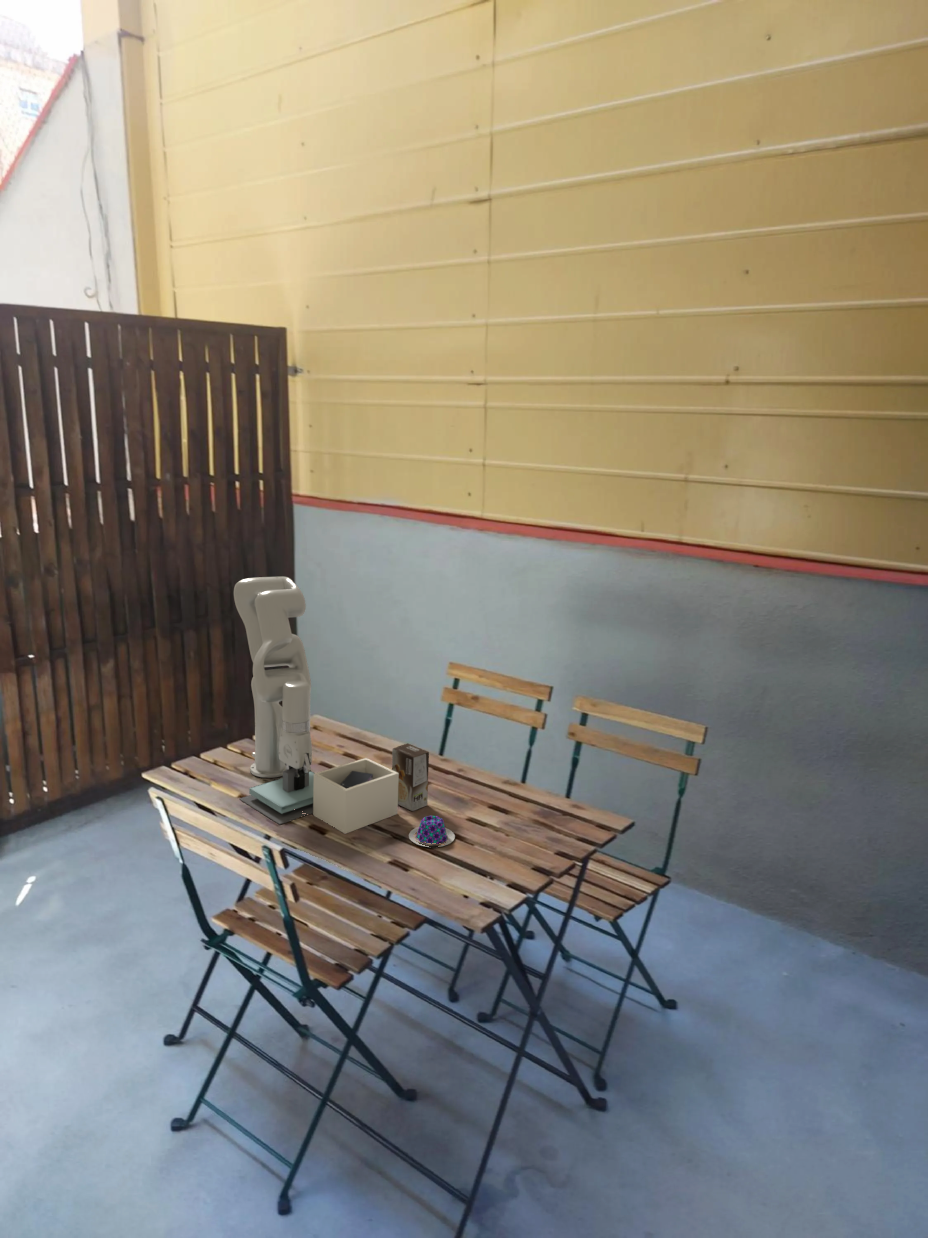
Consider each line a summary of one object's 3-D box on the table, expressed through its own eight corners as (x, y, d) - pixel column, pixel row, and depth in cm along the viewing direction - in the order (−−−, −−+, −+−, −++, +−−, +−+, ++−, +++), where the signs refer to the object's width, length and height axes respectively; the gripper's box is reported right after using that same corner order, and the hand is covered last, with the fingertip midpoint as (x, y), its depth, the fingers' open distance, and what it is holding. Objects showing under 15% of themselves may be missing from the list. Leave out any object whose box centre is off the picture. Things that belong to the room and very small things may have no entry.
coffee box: (428, 805, 234) (430, 751, 231) (412, 812, 230) (414, 757, 226) (406, 794, 240) (408, 742, 237) (389, 801, 236) (391, 748, 232)
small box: (360, 825, 221) (361, 788, 219) (337, 821, 222) (338, 785, 220) (372, 808, 231) (373, 773, 229) (350, 805, 232) (351, 770, 230)
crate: (313, 815, 225) (313, 773, 222) (365, 797, 238) (366, 757, 235) (344, 833, 215) (345, 791, 213) (397, 814, 228) (398, 773, 225)
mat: (239, 799, 232) (239, 798, 232) (310, 777, 249) (310, 776, 249) (279, 824, 219) (279, 823, 218) (352, 799, 235) (352, 798, 235)
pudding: (409, 827, 221) (409, 809, 220) (454, 828, 222) (454, 810, 221) (408, 849, 210) (408, 830, 209) (455, 850, 210) (456, 831, 209)
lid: (249, 794, 232) (249, 769, 230) (308, 775, 246) (309, 752, 244) (281, 813, 221) (281, 788, 219) (341, 793, 235) (342, 769, 233)
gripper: (268, 720, 232) (268, 781, 236) (301, 736, 221) (301, 800, 225) (291, 714, 237) (291, 774, 241) (324, 730, 226) (324, 793, 230)
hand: (296, 786), depth 233 cm, fingers closed on lid, 2 cm apart
